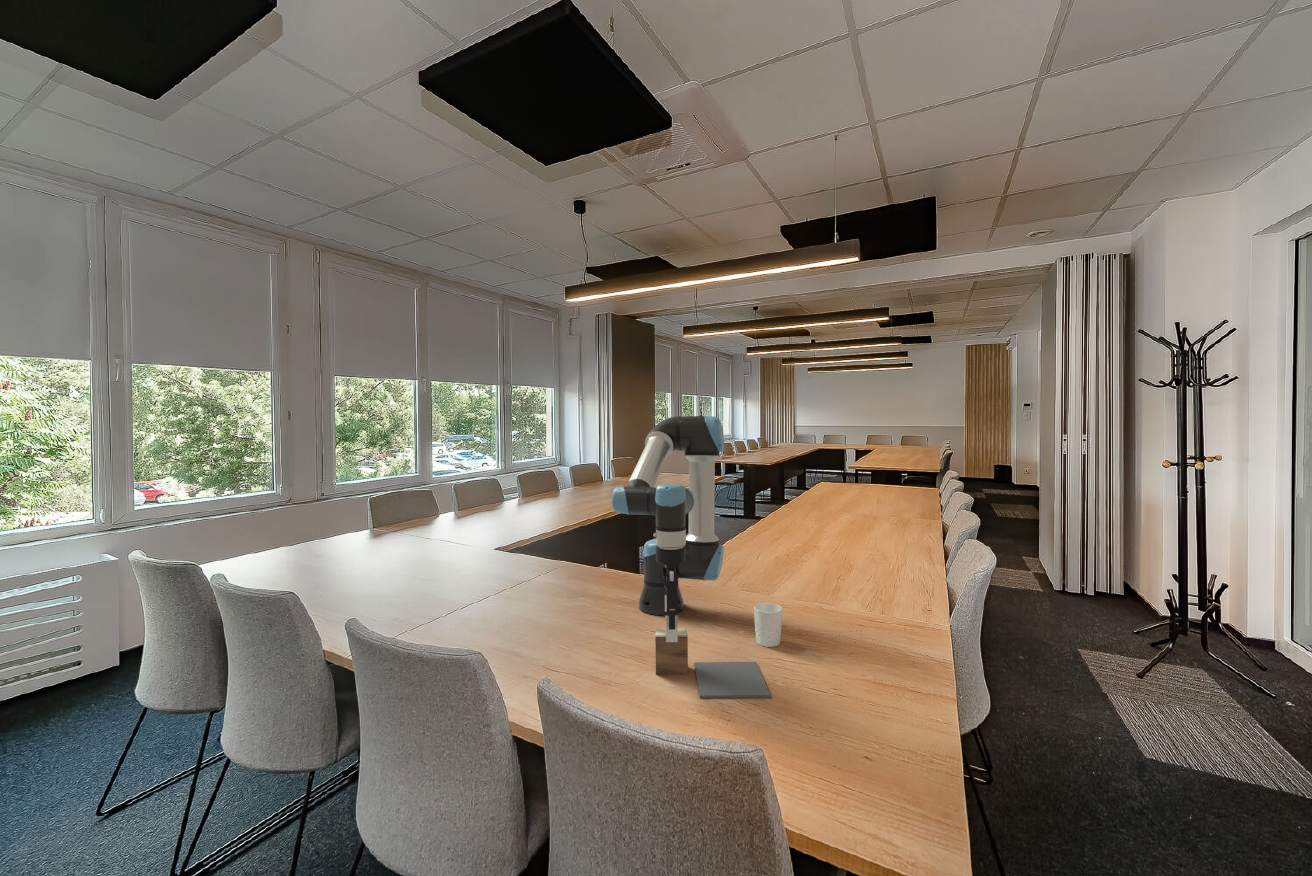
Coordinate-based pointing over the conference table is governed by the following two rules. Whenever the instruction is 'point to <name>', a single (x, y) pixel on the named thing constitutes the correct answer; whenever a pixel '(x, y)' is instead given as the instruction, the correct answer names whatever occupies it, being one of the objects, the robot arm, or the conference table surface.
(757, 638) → the white cup
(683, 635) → the walnut slab
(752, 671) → the rubber mat
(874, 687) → the conference table surface
